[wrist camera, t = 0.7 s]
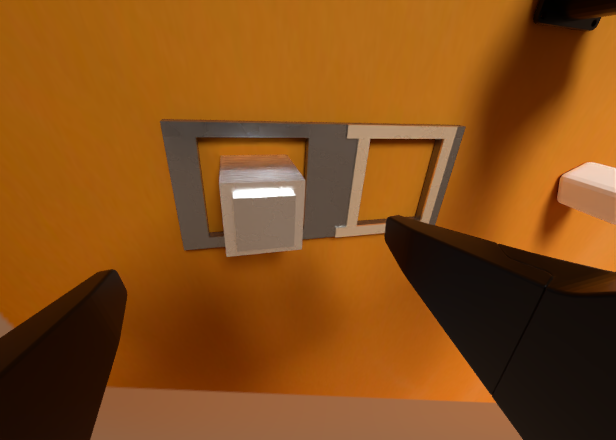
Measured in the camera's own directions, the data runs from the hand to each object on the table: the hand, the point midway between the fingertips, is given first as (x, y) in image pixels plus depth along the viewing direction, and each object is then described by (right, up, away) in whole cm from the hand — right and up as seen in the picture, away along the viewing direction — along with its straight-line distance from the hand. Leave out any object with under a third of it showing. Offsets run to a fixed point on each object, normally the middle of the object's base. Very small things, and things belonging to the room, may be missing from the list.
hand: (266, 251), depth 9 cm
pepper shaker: (+32, +6, +23) cm, 39 cm away
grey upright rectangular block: (-3, +4, +13) cm, 14 cm away
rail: (+3, +4, +14) cm, 15 cm away
